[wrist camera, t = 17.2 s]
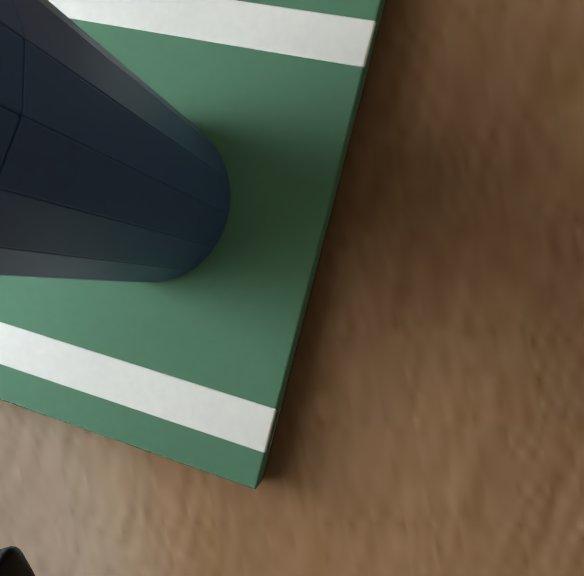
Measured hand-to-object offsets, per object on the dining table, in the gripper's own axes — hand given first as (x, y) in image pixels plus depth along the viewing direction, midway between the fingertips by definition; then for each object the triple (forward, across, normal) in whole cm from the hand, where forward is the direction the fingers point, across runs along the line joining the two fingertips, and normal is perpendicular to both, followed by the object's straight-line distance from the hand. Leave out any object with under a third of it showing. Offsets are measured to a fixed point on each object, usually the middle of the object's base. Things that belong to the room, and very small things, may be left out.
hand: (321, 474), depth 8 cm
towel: (+16, +3, -3) cm, 17 cm away
